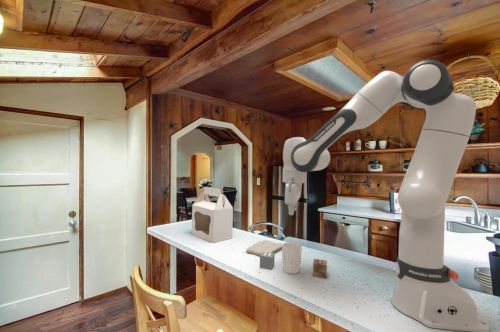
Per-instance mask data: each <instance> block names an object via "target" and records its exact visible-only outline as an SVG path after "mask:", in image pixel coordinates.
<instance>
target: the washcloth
mask: <svg viewBox="0 0 500 332" xmlns="http://www.w3.org/2000/svg"><path fill="white" fill-rule="evenodd" d="M282 244H283V243H279V242H275V241H271V240H267V239H265V240H263V241H262V240H261V241H258V242H257V243H254V244H252V245H251V246H248V247H247V248H246V250H245V252H246V253H247V254H250V255H255V256H257V257H260V255H261V254H262V253H263V252H268V253H275V254H277V253H279V252H280V251H282Z"/></svg>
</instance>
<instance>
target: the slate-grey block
mask: <svg viewBox="0 0 500 332" xmlns="http://www.w3.org/2000/svg"><path fill="white" fill-rule="evenodd" d="M275 254H276V253H268V252H263V253H262V254H261V255H260V256H259V269H265V270H270V271H271V270H273V268H274V266H275V256H276V255H275Z"/></svg>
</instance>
